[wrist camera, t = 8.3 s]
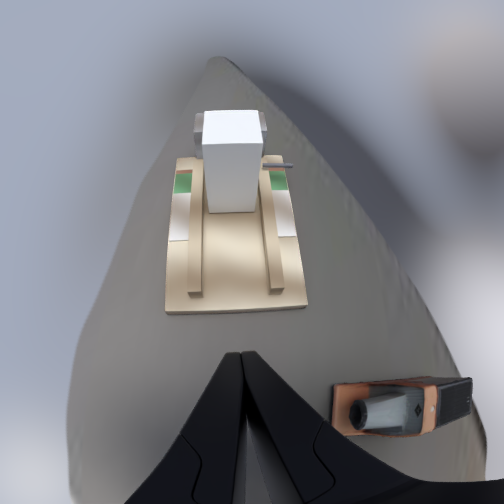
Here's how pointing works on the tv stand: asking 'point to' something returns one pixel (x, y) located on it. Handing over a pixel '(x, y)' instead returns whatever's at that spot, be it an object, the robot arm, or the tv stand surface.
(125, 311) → the tv stand surface
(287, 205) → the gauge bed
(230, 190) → the white rectangular block
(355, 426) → the electronic device
